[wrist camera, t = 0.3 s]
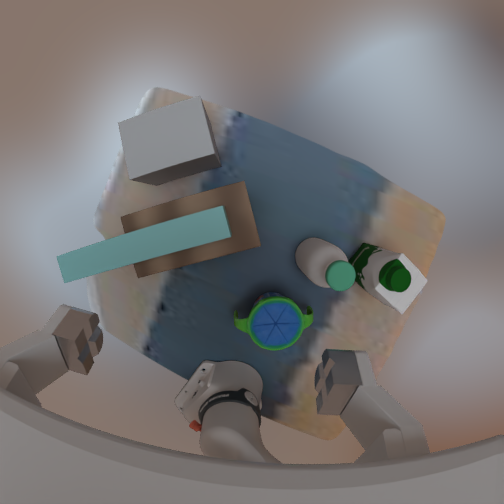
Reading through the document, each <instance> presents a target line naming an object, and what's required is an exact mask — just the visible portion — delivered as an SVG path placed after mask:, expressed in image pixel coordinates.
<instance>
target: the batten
mask: <svg viewBox="0 0 504 504" xmlns="http://www.w3.org/2000/svg"><path fill="white" fill-rule="evenodd" d="M231 235H232V233H231V229H230V225H229V221H228V217H227V214H226V210H225V206H219V207H215V208H212V209H208V210H204V211H201V212H197V213H194V214H190V215H187V216H183V217H180V218H176V219H173V220H169V221H166V222H162V223H159V224H156V225H152V226H149V227H146V228H143V229H139V230H136V231H133V232H130V233H126V234H123V235H120V236H117V237H114V238H111V239H107V240H104V241H101V242H98V243H96V244H92V245H89V246H86V247H83V248H80V249H77V250H74V251H71V252H68V253H66V254H63V255H60V256H57V260H58V263H59V267H60V270H61V273H62V277H63V279H64V283H67V282H71V281H74V280H77V279H81V278H84V277H88V276H91V275H95V274H98V273H102V272H105V271H109V270H112V269H116V268H119V267H123V266H126V265H130V264H133V263H137V262H141V261H144V260H148V259H151V258H155V257H159V256H162V255H166V254H170V253H173V252H177V251H181V250H184V249H188V248H192V247H195V246H199V245H203V244H207V243H210V242H214V241H218V240H222V239H225V238H229V237H231Z"/></svg>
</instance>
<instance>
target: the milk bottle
mask: <svg viewBox="0 0 504 504" xmlns="http://www.w3.org/2000/svg"><path fill="white" fill-rule="evenodd" d="M295 260H296V263H297V265H298V267H299V268H300V270H301V271H302V272H303V273H304V274H305V275H306V276H307V277H308V278H309V279H310V280H311V281H312V282H313V283H315V284H316V285H318V286H321V287H326V288H330V287H331V288H332V289H334V290H336V291H345V290H347V289H349V288H350V287H351V286H352V285H353V283H354V281H355V277H356V273H355V270H354V267H353V266H352V265H351V264H350V263H348V259H347V257H346V255H345V254H344V252H343V251H342V250H341V249H340V248H338V247H337V246H335V245H333V244H331V243H329V242H327V241H324V240H322V239H319V238H308V239H306V240H304V241H303V242H301V243H300V245H299V246H298V248H297V250H296V253H295Z"/></svg>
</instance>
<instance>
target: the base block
mask: <svg viewBox="0 0 504 504" xmlns="http://www.w3.org/2000/svg"><path fill="white" fill-rule="evenodd" d="M118 124H119V130H120V135H121V140H122V146H123V151H124V155H125V160H126V165H127V169H128V174H129V178H130V180H133V181H138V182H143V183H147V184H152V185H156V186H157V185H160V184H163V183H166V182H169V181H173V180H176V179H179V178H183V177H186V176H189V175H193V174H196V173H200V172H203V171H207V170H211V169H214V168H218V167H221V163H220V159H219V155H218V151H217V147H216V143H215V139H214V136H213V132H212V128H211V124H210V120H209V118H208V115H207V113H206V110H205V107H204V105H203V102H202V99H201V97H200V96H197V97H193V98H190V99H186V100H183V101H180V102H177V103H173V104H170V105H167V106H164V107H161V108H158V109H155V110H152V111H149V112H146V113H143V114H141V115H138V116H135V117H132V118H130V119H127V120H125V121H122V122H120V123H118Z"/></svg>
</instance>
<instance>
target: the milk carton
mask: <svg viewBox="0 0 504 504" xmlns="http://www.w3.org/2000/svg"><path fill="white" fill-rule="evenodd" d="M348 263H350V264H351V265H352V266H353V267H354V270H355V273H356V277H355V281H356V282H357V283H358V284H359V285H360V286H361V287H362V288H363V289H364V290H366V291H367V292H368V293H370V294H371V295H372V296H374V297H375V298H377V299H378V300H380V301H381V302H382V303H383V304H385V305H388V306H390V307H391V308H393V309H395V310H396V311H398V312H399V313H401V314H403V313H404V312H405V310H406V309H407V308H408V306H409V305H410V304H411V303H412V301H413V300H414V299H415V297H416V296H417V295H418V293H419V292H420V291H421V289H422V288H423V287H424V285H425V284H426V283H427V281H428V280H427V279H426V278H425V277H424V276H423V275H422V274H421V272H420V270H419V269H418V268H417V267H416V266H415V265H414V264H413V263H412V262H411V261H410V260H409V259H408V258H407V257H406V256H405V255H404V254H403V253H395V252H392V251H389V250H386V249H383V248H380V247H377V246H373V245H370V244H366V243H363V244H362V245H361V247H360V248H359V249H358V250H357V252H356V253H355V254H354V255H353V257H352V258H351V259H350V260H349V262H348Z"/></svg>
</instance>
